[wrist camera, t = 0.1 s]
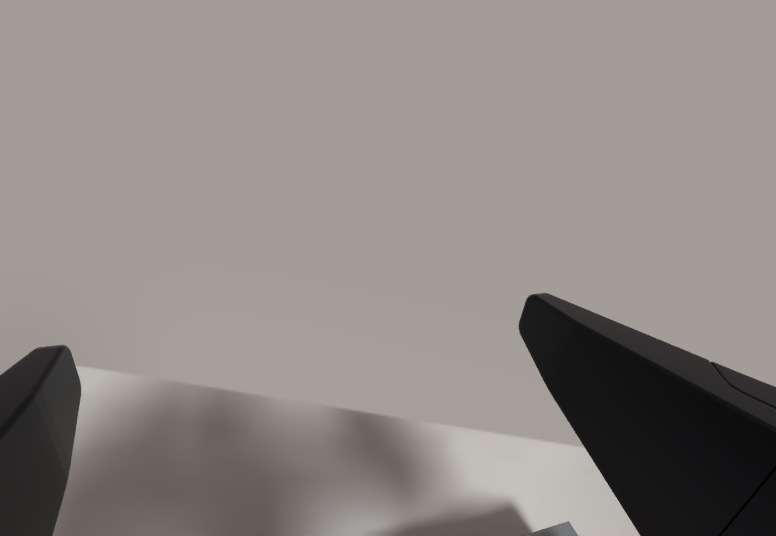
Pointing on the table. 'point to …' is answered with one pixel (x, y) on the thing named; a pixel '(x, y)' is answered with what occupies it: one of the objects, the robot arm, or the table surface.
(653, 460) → the robot arm
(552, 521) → the table surface
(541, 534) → the switch unit
